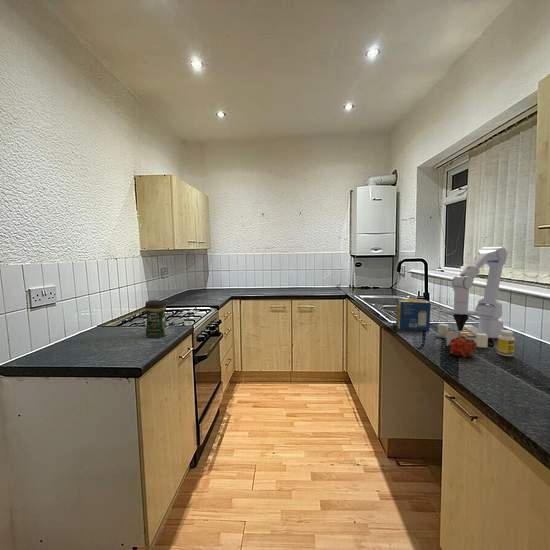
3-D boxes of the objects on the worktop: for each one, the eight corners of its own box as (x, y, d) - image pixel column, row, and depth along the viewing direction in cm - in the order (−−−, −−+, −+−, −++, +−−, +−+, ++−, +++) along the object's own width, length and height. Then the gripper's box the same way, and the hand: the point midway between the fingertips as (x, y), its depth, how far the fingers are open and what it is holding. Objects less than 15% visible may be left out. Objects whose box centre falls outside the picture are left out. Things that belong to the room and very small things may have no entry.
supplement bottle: (509, 357, 123) (510, 333, 122) (494, 353, 127) (495, 330, 127) (516, 355, 125) (517, 331, 124) (501, 351, 130) (502, 328, 129)
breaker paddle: (468, 334, 144) (468, 332, 144) (470, 335, 141) (470, 333, 141) (459, 333, 144) (460, 331, 144) (461, 335, 142) (461, 332, 142)
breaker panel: (471, 336, 152) (472, 325, 152) (487, 347, 135) (487, 334, 134) (455, 335, 154) (456, 324, 154) (468, 346, 137) (469, 333, 136)
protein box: (395, 325, 176) (396, 298, 174) (424, 326, 173) (425, 299, 171) (399, 329, 165) (399, 301, 164) (430, 331, 162) (431, 302, 161)
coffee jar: (143, 338, 153) (142, 301, 151) (150, 334, 161) (149, 299, 159) (162, 338, 152) (161, 301, 151) (169, 334, 160) (167, 299, 159)
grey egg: (456, 344, 139) (456, 331, 139) (459, 347, 135) (459, 334, 135) (445, 344, 140) (445, 331, 140) (448, 347, 136) (448, 333, 136)
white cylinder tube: (446, 335, 154) (446, 323, 153) (449, 338, 149) (449, 326, 149) (436, 335, 155) (437, 323, 154) (439, 337, 151) (439, 325, 150)
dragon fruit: (479, 360, 124) (449, 364, 125) (468, 343, 130) (439, 347, 131) (485, 348, 118) (453, 352, 119) (474, 330, 125) (443, 334, 126)
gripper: (446, 302, 140) (445, 331, 141) (482, 303, 137) (481, 333, 138) (442, 300, 147) (441, 327, 148) (476, 301, 143) (474, 329, 145)
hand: (459, 330), depth 143 cm, fingers closed
